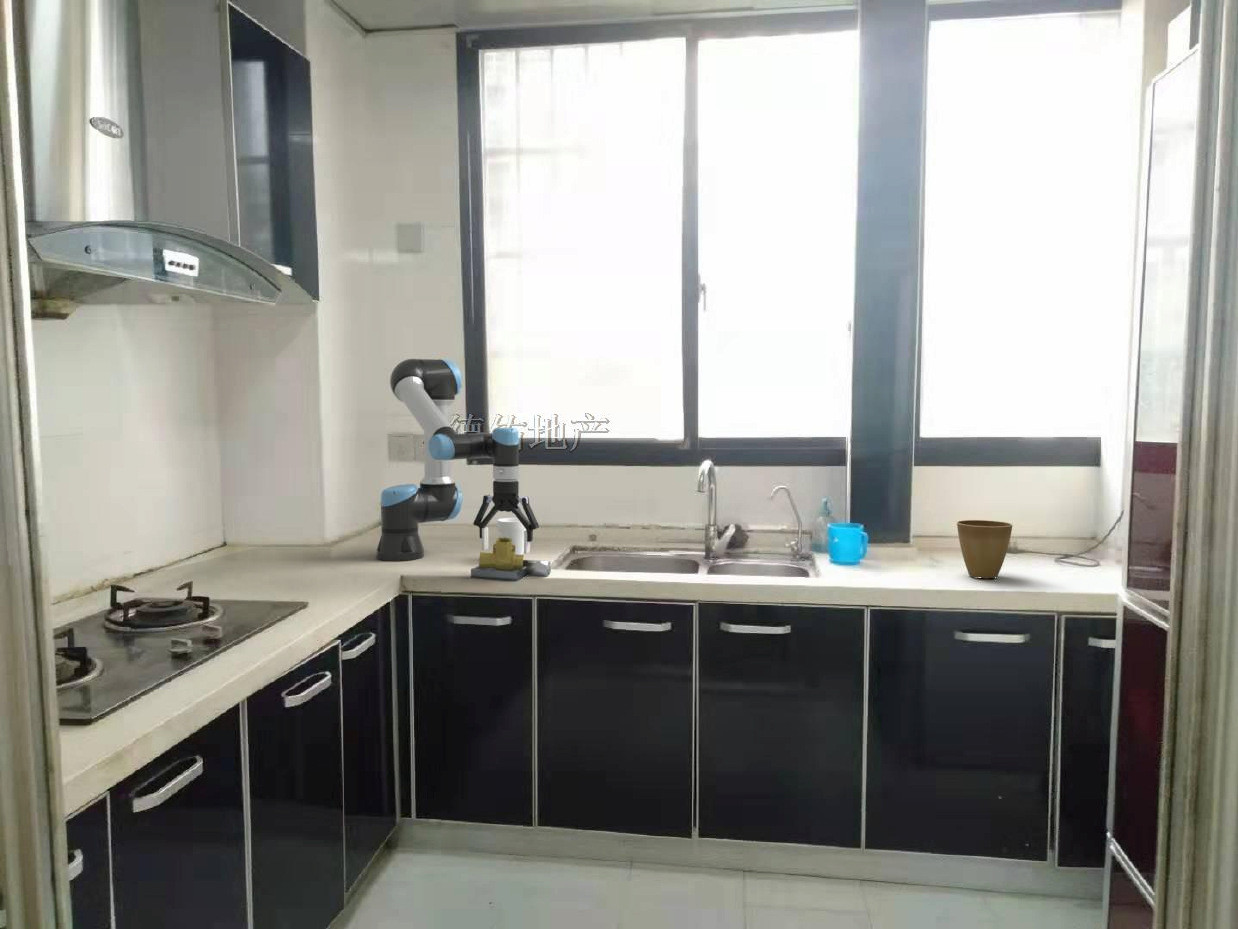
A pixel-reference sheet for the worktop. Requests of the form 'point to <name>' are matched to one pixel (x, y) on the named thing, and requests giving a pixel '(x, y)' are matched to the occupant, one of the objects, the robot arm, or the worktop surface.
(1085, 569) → the worktop surface
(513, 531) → the foam cup
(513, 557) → the ball valve
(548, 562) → the fitting cradle
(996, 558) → the plant pot
